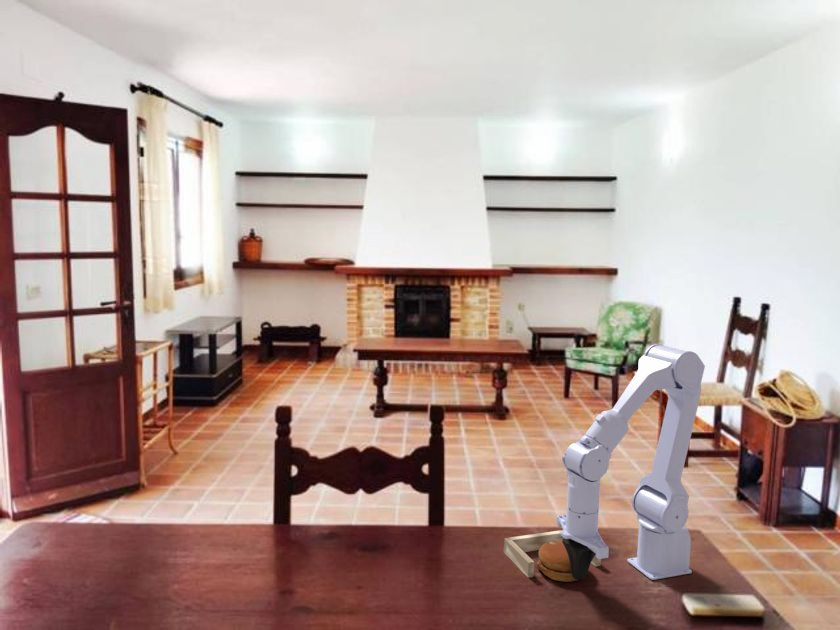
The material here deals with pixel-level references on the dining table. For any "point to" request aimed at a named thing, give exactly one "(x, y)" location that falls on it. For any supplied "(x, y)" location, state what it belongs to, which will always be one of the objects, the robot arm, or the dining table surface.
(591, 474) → the robot arm
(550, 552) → the burger
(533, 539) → the bay
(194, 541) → the dining table surface
